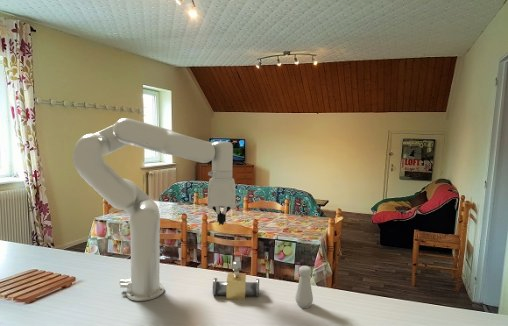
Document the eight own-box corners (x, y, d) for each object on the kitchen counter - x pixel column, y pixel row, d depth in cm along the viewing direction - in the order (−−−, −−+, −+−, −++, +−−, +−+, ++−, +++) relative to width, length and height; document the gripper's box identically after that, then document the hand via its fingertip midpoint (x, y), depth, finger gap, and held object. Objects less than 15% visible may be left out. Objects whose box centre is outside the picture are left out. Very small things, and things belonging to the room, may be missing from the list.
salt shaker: (312, 310, 103) (314, 271, 102) (294, 308, 104) (296, 270, 103) (312, 301, 108) (314, 264, 107) (295, 299, 110) (297, 263, 109)
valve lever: (240, 271, 110) (240, 263, 110) (232, 271, 110) (232, 263, 110) (242, 258, 122) (242, 251, 121) (234, 258, 122) (234, 251, 121)
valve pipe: (212, 298, 109) (212, 273, 108) (214, 289, 115) (215, 265, 115) (258, 299, 109) (259, 274, 108) (258, 290, 115) (259, 266, 115)
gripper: (200, 175, 113) (199, 226, 115) (242, 176, 113) (241, 227, 115) (203, 173, 121) (203, 220, 122) (242, 174, 121) (241, 221, 122)
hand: (221, 223), depth 119 cm, fingers closed
